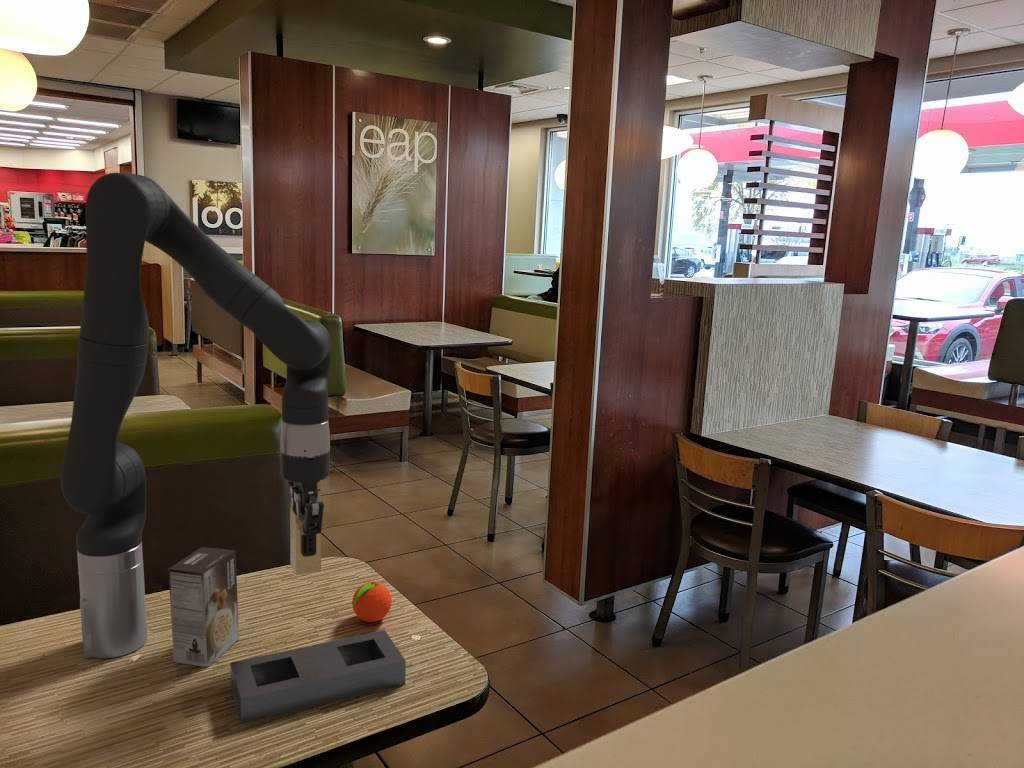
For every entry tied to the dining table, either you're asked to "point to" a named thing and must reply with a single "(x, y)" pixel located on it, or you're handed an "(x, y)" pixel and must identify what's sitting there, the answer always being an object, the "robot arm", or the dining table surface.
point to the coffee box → (203, 606)
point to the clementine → (371, 601)
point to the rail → (315, 675)
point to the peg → (296, 558)
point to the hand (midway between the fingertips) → (305, 549)
